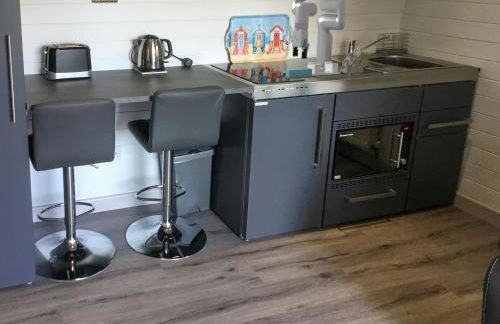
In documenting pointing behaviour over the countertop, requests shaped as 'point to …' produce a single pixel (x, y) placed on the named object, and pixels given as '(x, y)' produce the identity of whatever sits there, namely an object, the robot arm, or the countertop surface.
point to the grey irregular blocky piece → (353, 62)
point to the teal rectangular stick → (299, 72)
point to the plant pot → (365, 58)
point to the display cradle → (324, 68)
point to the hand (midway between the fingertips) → (299, 57)
